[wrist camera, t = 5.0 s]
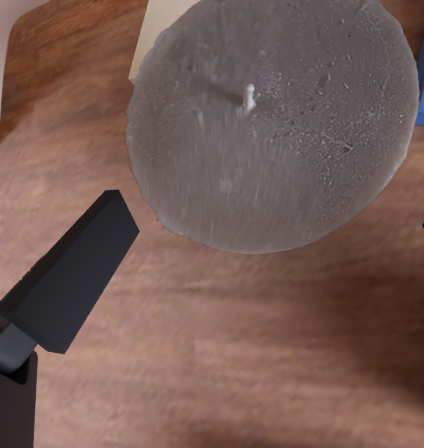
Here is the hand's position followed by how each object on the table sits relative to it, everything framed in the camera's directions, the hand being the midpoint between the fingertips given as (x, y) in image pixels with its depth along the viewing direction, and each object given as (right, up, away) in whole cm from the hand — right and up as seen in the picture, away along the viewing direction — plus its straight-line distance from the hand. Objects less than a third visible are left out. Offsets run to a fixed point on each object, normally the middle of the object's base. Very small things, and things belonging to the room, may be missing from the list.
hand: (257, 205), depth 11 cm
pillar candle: (+3, +2, +10) cm, 11 cm away
